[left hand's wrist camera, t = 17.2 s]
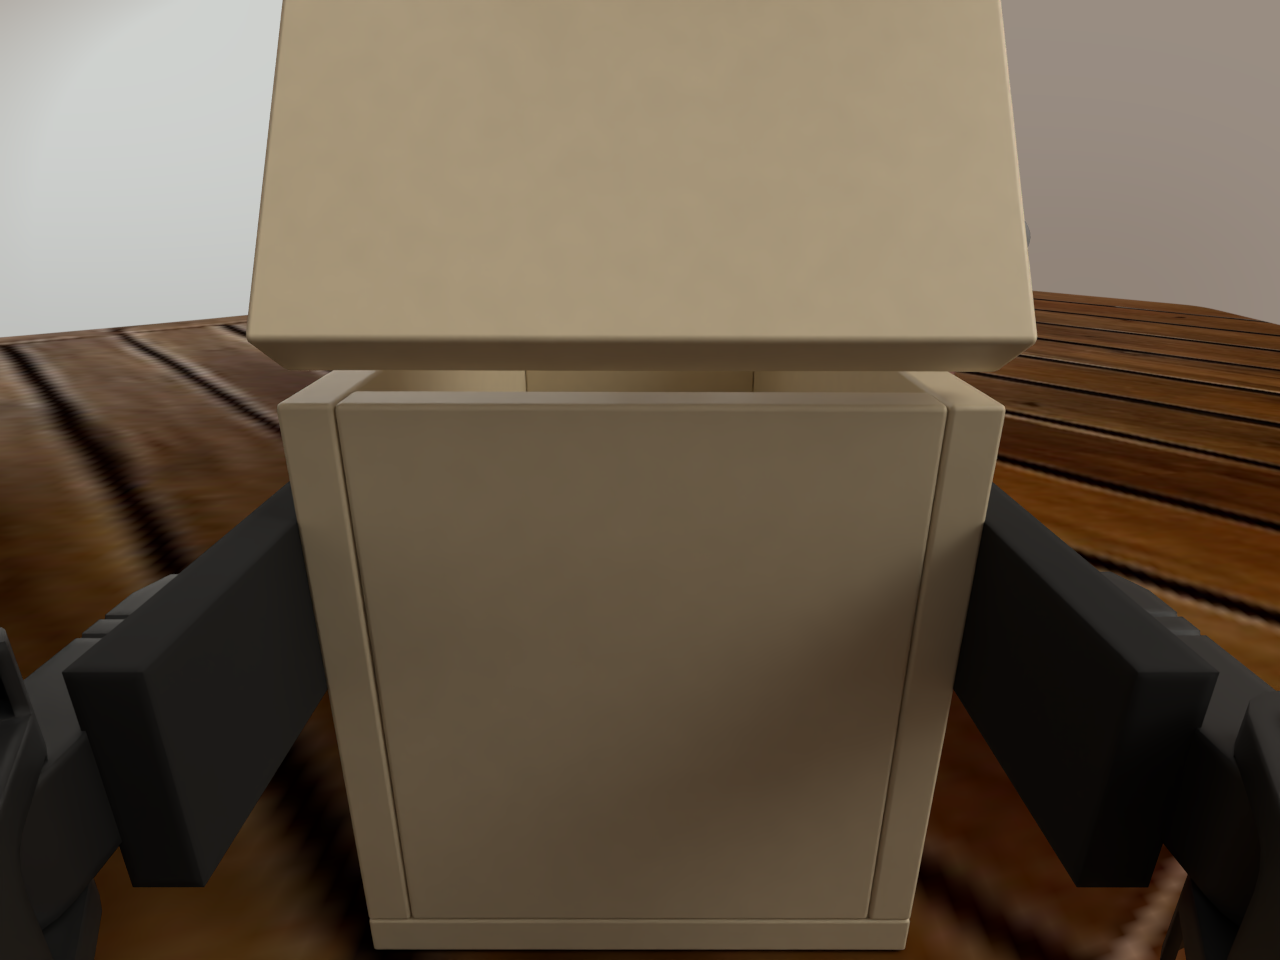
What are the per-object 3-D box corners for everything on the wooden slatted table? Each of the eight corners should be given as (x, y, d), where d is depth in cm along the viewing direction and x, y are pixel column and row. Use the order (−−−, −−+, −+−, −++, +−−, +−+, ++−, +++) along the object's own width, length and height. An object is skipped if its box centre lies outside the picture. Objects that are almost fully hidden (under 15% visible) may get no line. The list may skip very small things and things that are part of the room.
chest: (517, 534, 29) (500, 266, 25) (761, 534, 29) (779, 267, 25) (373, 951, 13) (273, 404, 9) (905, 951, 13) (1009, 406, 9)
